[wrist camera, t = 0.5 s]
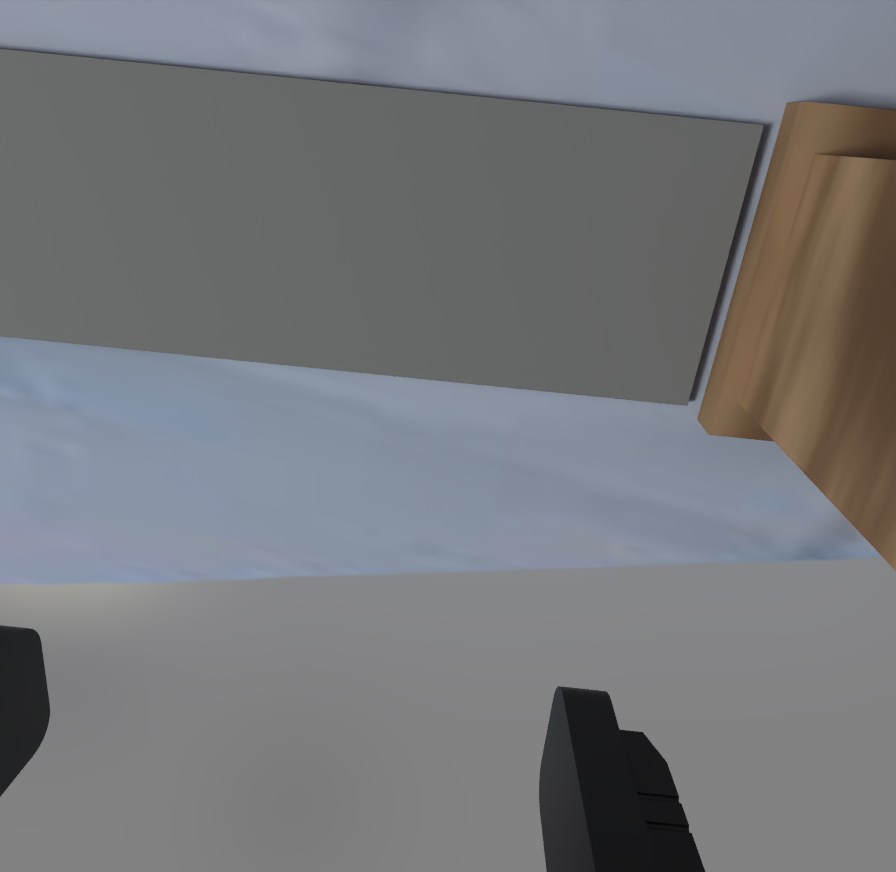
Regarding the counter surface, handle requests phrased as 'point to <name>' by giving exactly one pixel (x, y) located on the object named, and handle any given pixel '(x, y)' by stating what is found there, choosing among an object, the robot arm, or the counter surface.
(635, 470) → the counter surface
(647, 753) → the robot arm
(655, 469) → the counter surface
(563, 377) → the rubber mat
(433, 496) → the counter surface
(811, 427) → the brown tall ridged block
